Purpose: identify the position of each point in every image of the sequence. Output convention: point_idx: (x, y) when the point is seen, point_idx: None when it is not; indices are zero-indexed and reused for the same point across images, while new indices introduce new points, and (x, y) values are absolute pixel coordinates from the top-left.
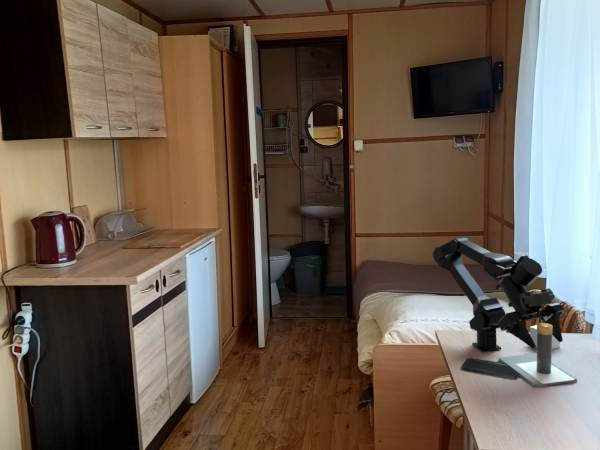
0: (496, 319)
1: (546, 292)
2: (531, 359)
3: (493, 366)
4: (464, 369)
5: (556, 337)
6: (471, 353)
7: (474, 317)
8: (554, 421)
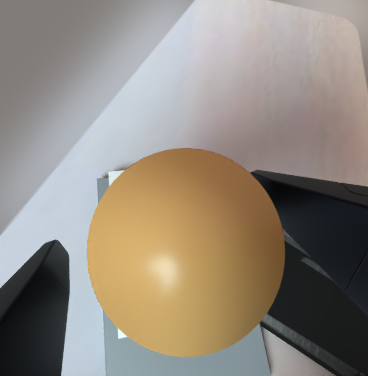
0: None
1: None
2: (161, 355)
3: (300, 305)
4: None
5: (62, 286)
6: None
7: None
8: (237, 43)
